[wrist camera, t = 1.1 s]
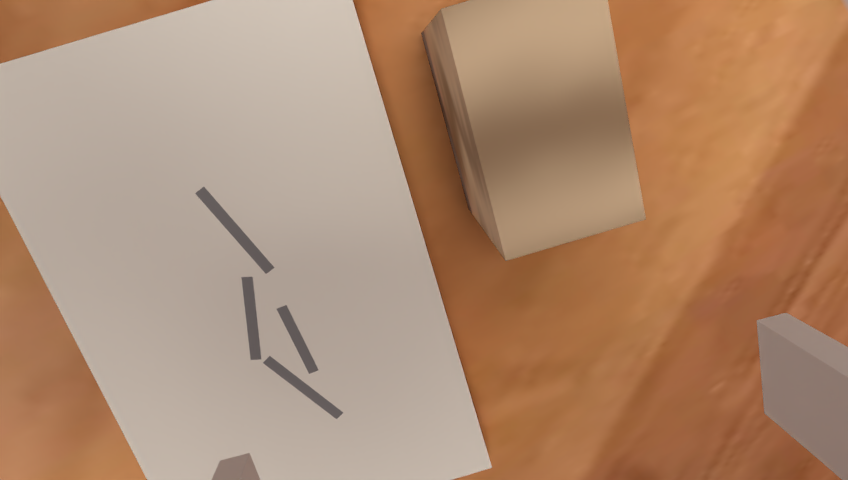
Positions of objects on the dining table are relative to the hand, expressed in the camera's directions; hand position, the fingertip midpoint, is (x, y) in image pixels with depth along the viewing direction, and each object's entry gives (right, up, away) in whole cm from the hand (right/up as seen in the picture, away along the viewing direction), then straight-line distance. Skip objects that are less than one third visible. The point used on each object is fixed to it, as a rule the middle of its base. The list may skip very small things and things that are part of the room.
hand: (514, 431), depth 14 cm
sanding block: (+2, +12, +17) cm, 21 cm away
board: (-12, +2, +19) cm, 22 cm away
